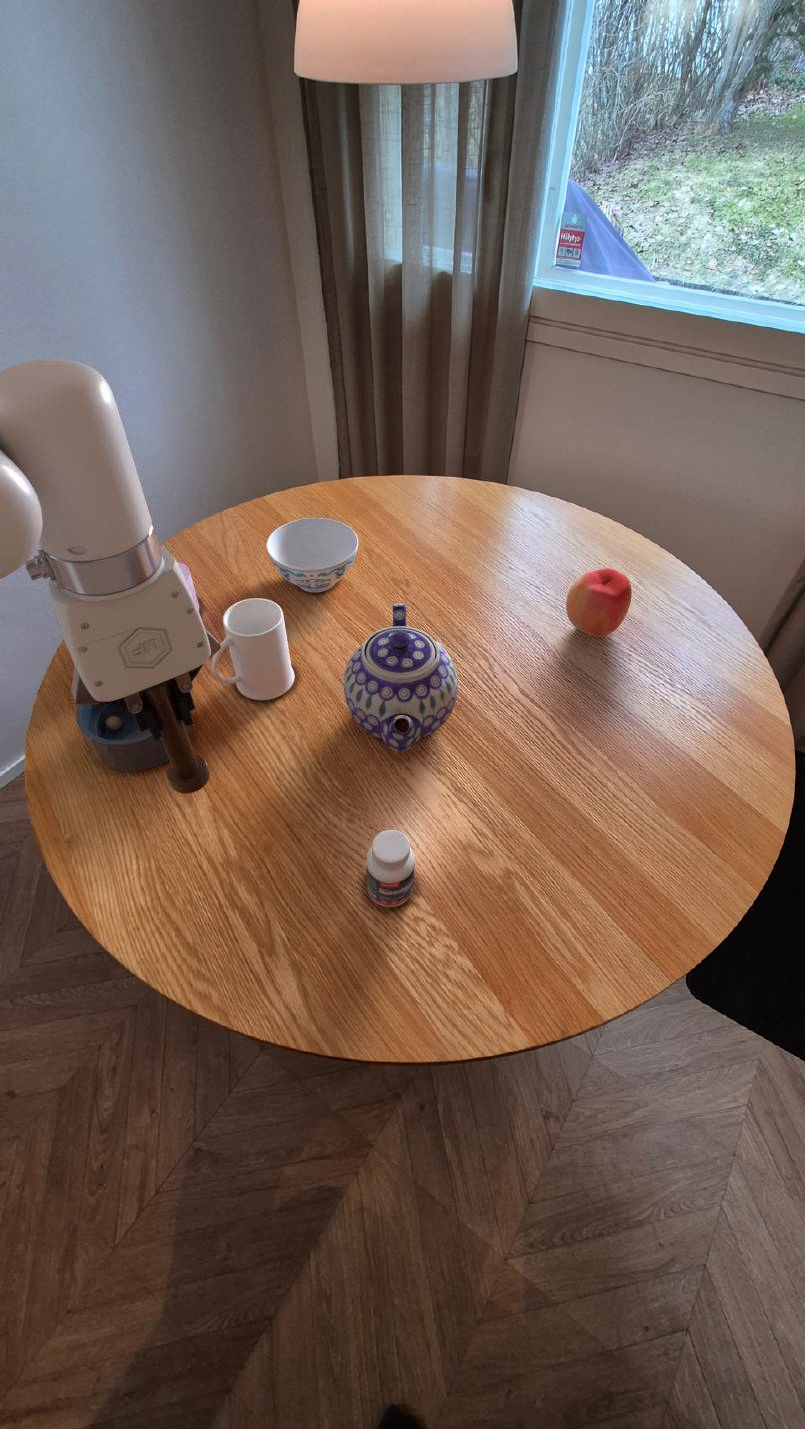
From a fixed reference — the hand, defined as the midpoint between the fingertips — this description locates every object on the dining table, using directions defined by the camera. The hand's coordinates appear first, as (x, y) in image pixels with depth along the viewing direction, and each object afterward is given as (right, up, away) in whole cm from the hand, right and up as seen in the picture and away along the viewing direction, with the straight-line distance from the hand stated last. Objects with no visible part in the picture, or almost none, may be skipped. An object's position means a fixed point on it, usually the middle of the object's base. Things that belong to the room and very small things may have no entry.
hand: (168, 721), depth 61 cm
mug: (0, +5, +36) cm, 36 cm away
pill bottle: (+20, -19, +14) cm, 31 cm away
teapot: (+21, 0, +32) cm, 39 cm away
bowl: (-14, -2, +29) cm, 32 cm away
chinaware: (+7, +24, +53) cm, 59 cm away
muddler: (0, -6, +6) cm, 9 cm away
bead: (-18, 0, +28) cm, 33 cm away
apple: (+52, +14, +45) cm, 70 cm away
